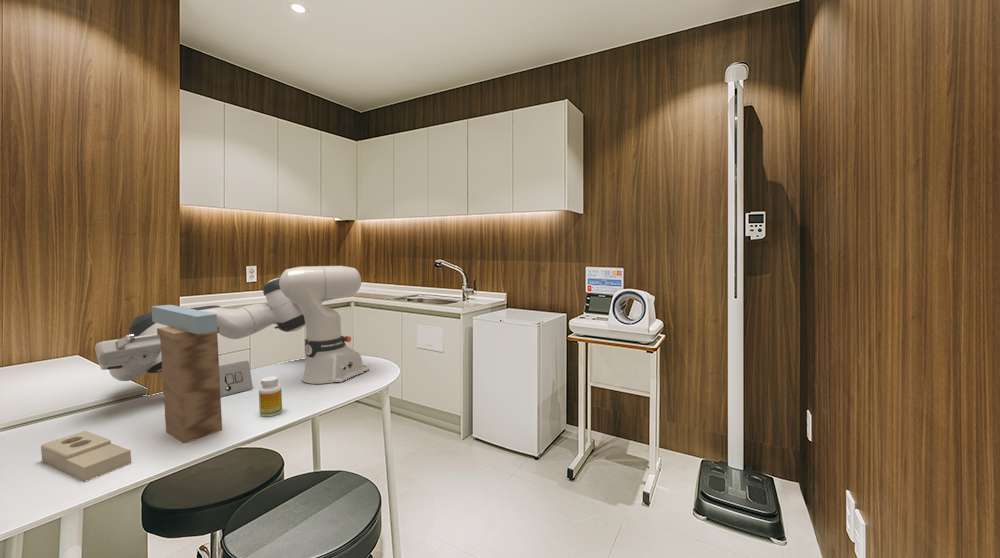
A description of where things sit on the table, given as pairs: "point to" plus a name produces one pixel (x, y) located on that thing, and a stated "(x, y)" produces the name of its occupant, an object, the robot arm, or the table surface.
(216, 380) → the tall wooden block
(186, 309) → the batten
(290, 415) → the table surface
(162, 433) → the table surface
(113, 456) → the electrical outlet
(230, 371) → the electrical switch
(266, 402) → the supplement bottle
